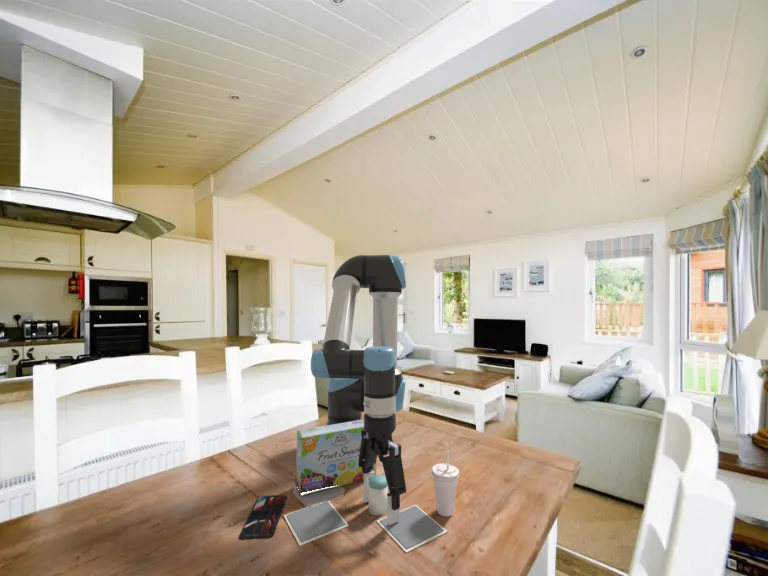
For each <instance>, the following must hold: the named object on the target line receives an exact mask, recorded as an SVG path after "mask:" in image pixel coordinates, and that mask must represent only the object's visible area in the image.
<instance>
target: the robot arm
mask: <svg viewBox="0 0 768 576" xmlns="http://www.w3.org/2000/svg"><path fill="white" fill-rule="evenodd" d="M406 283H407V281H406V273H405V266H404V260H403V258H402V257H401V256H399V255H390V254H383V255H382V254H379V255H378V254H377V255H372V254H371V255H365V254H359V255H354V256H352V257H350V258H348V259H347V260H345V261H344V262H343V263H342V264H341V265H340V266H339V267H338V269H336V272H335V273H334V275H333V278H332V282H331V287H332V291H333V293H332V297H331V302H330V307H329V308H330V309H329V312H328V318H327V323H326V328H325V331H324V332H325V333H324V339H323V343H322V348H319V349H314V350H313V352H312V354H311V359H310V371H311V375H312V376H313V377H314V378H319V379H328V384H327V385H328V386H327V391H326V392H327V421H326V424H325V426H327V425H333V424H339V423H345V422H351V421H357V420H363V419H364V429H363V430H361V435H362V440H361V447H360V454H359V462H358V465H359V467H362V472H363V473H364V480H363V502H364V503H369V478H370V477H371V476H373V475H375V472H374V471H371V470H373V469H375V468H374V463H375V461H376V462H377V457H378V459H379V462H381V464H382V468H383V471H384V476H385V477H386V480H387V484H388V485H387V489H388V492H387V512H386V514H387V515H386V517H387V524H388V525H392V524H394V523H396V522H399V511H400V508H401V495H403V494H407V486H406V485H407V484H406V480H405V478H406V477H405V472H404V466H403V459H402V445H401V444H400V443H399V444H398V443H397V444H395V443H394V440H393V433H394V432H395V431H396V428H397V424H396V423H397V422H396V421H397V419H396V413H398V412H400V411H401V410H402V409H403V405H404V399H405V392H406V385H407V384H406V377H405V376H402V371H401V369H400V368H399V367H398V299H399V297H400V296H401V295H402V294H403V290H404V289H407V284H406ZM361 289H368V294H369V295H370V296H371V298H372V346H369V347H368V346H367V347H365V348H364V349H351V342H352V333H353V326H354V325H353V324H354V316H355V309H356V302H357V294H358V293H359V292H360V290H361ZM362 413H364V415H363V416H362ZM362 417H363V419H362ZM364 459H365V460H364ZM363 460H364V461H363Z"/></svg>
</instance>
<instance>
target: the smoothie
mask: <svg viewBox="0 0 768 576" xmlns="http://www.w3.org/2000/svg"><path fill="white" fill-rule="evenodd" d="M431 475H432V477H433V484H434V494H435V501H436V511H437V514H439V515H440V516H443V517H451V516H453V515H454V511H455V502H456V496H457V495H456V494H457V487H458V485H457V484H458V478H459V477H460V470H459V468H458V467H456V466H455V465H453V464H450V451H449V450H447V451H446V463H445V462H444V463H443V462H442V463H436V464H435V465H433V466H432V468H431Z"/></svg>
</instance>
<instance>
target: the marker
mask: <svg viewBox="0 0 768 576" xmlns="http://www.w3.org/2000/svg"><path fill="white" fill-rule="evenodd" d="M387 493H388V484H387V480H386V476H385V475H384V474H383V475H382V474H376V475H373V476H371V477H370V478H369V501H368V512H369V514H371V516H372V515H373V516H375V517H376V516H377V517H379V516H383V515H385V514H387Z"/></svg>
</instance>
